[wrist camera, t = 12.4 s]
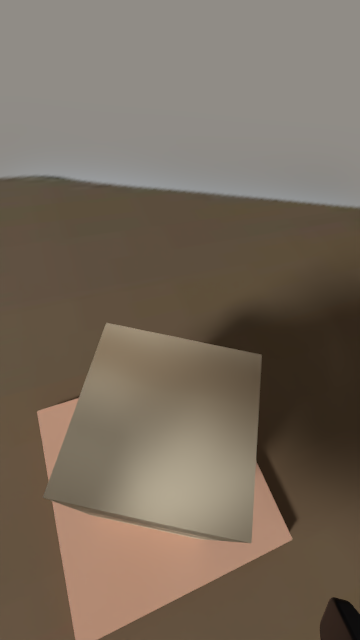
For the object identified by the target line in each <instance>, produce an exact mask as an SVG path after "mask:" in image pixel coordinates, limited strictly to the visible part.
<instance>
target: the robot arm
mask: <svg viewBox="0 0 360 640" xmlns="http://www.w3.org/2000/svg"><path fill="white" fill-rule="evenodd" d="M320 637H321V640H360V614H359V613H358V611H357V610H356V609H355V608H354V607H353V605H352V604H351V603H350V602H348V601H346V600H342V599H338V598H335V597H332V598H331V599H330V600H329V602H328V604H327V607H326V609H325V612H324V615H323V617H322V620H321V623H320Z"/></svg>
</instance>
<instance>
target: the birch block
mask: <svg viewBox="0 0 360 640" xmlns="http://www.w3.org/2000/svg"><path fill="white" fill-rule="evenodd" d="M261 362H262V355H261V354H256V353H251V352H246V351H241V350H236V349H231V348H226V347H222V346H217V345H212V344H207V343H202V342H197V341H192V340H187V339H182V338H178V337H173V336H168V335H163V334H158V333H153V332H148V331H143V330H139V329H134V328H129V327H124V326H119V325H114V324H109V323H106V325H105V328H104V331H103V333H102V336H101V339H100V342H99V344H98V347H97V350H96V353H95V355H94V358H93V361H92V364H91V366H90V369H89V372H88V375H87V377H86V380H85V383H84V386H83V388H82V391H81V394H80V397H79V399H78V402H77V405H76V408H75V410H74V413H73V416H72V419H71V421H70V424H69V427H68V430H67V432H66V435H65V438H64V441H63V443H62V446H61V449H60V452H59V454H58V457H57V460H56V463H55V465H54V468H53V471H52V474H51V476H50V479H49V482H48V485H47V487H46V490H45V493H44V496H43V498H45V499H48V500H51V501H54V502H56V503H59V504H62V505H64V506H67V507H70V508H73V509H75V510H78V511H81V512H83V513H86V514H89V515H92V516H95V517H100V518H104V519H109V520H113V521H118V522H123V523H127V524H132V525H136V526H141V527H145V528H150V529H154V530H159V531H163V532H168V533H173V534H177V535H182V536H186V537H191V538H195V539H202V540H215V541H228V542H241V543H251V542H252V524H253V506H254V488H255V470H256V452H257V434H258V416H259V398H260V380H261Z"/></svg>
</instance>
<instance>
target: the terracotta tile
mask: <svg viewBox="0 0 360 640" xmlns="http://www.w3.org/2000/svg"><path fill="white" fill-rule="evenodd" d="M78 399H79V398H77V399H74V400H71V401H68V402H64V403H61V404H58V405H55V406H52V407H49V408H46V409H42V410H39V411H37V413H38V419H39V425H40V431H41V437H42V443H43V449H44V455H45V461H46V467H47V473H48V479H50V476H51V474H52V471H53V468H54V465H55V463H56V460H57V457H58V454H59V452H60V449H61V446H62V443H63V441H64V438H65V435H66V432H67V430H68V427H69V424H70V421H71V419H72V416H73V413H74V410H75V408H76V405H77V402H78ZM52 503H53V509H54V515H55V521H56V526H57V532H58V538H59V544H60V550H61V556H62V562H63V568H64V574H65V580H66V586H67V592H68V598H69V604H70V610H71V616H72V622H73V628H74V634H75V640H97V639H99V638H101V637H103V636H105V635H107V634H109V633H111V632H113V631H115V630H117V629H119V628H121V627H123V626H125V625H127V624H129V623H131V622H133V621H135V620H137V619H139V618H140V617H142V616H144V615H146V614H148V613H150V612H152V611H154V610H156V609H158V608H160V607H162V606H164V605H166V604H168V603H170V602H172V601H174V600H176V599H178V598H180V597H181V596H183V595H185V594H187V593H189V592H191V591H193V590H195V589H197V588H199V587H201V586H203V585H205V584H207V583H209V582H211V581H213V580H215V579H217V578H219V577H221V576H222V575H224V574H226V573H228V572H230V571H232V570H234V569H236V568H238V567H240V566H242V565H244V564H246V563H248V562H250V561H252V560H254V559H256V558H258V557H260V556H262V555H264V554H265V553H267V552H269V551H271V550H273V549H275V548H277V547H279V546H281V545H283V544H285V543H287V542H289V541H291V540H293V539H292V537H291V535H290V533H289V531H288V528H287V526H286V524H285V522H284V520H283V518H282V515H281V513H280V511H279V509H278V507H277V505H276V503H275V500H274V498H273V496H272V494H271V492H270V490H269V488H268V485H267V483H266V481H265V479H264V477H263V475H262V472H261V470H260V468H259V466H258V464H257V462H256V470H255V488H254V506H253V524H252V542H251V543H241V542H228V541H215V540H202V539H195V538H191V537H186V536H182V535H177V534H173V533H168V532H163V531H159V530H154V529H150V528H145V527H141V526H136V525H132V524H127V523H123V522H118V521H113V520H109V519H104V518H100V517H95V516H92V515H89V514H86V513H83V512H81V511H78V510H75V509H73V508H70V507H67V506H64V505H62V504H59V503H56V502H54V501H52Z"/></svg>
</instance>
